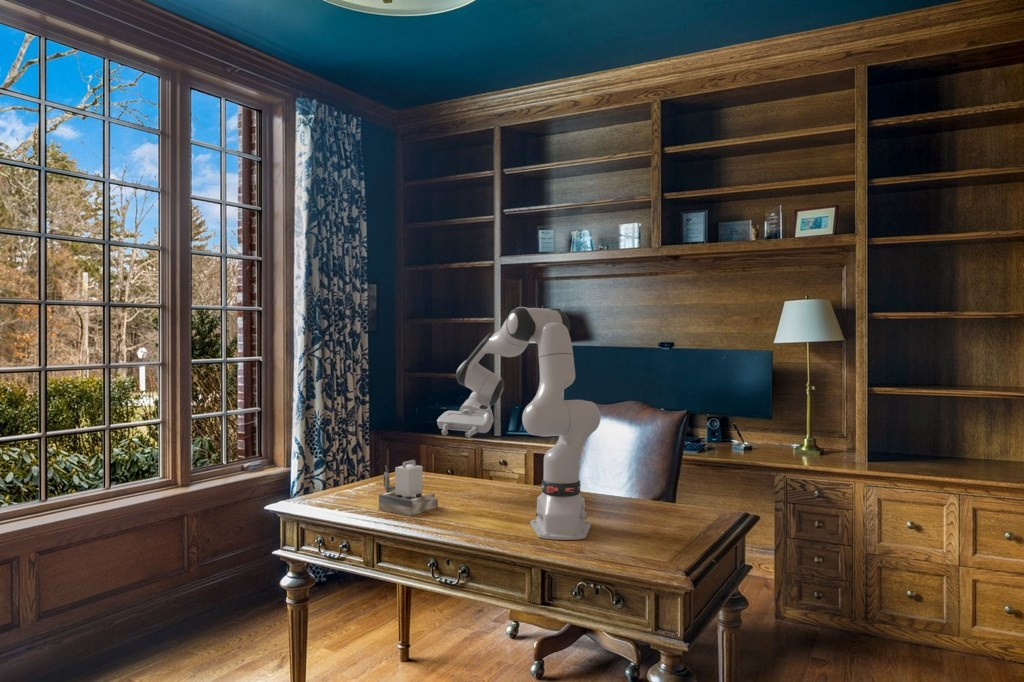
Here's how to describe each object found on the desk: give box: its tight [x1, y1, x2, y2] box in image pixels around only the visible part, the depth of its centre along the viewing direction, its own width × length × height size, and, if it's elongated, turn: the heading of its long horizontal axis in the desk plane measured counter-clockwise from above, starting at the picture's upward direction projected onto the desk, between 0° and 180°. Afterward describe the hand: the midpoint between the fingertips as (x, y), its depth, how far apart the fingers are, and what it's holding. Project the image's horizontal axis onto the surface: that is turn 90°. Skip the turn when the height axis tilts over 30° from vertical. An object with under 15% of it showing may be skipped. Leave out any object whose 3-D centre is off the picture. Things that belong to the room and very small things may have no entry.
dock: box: [378, 491, 439, 517], centre depth 231 cm, size 14×14×5 cm
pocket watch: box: [383, 465, 395, 493], centre depth 256 cm, size 8×8×10 cm
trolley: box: [394, 459, 424, 500], centre depth 231 cm, size 7×6×13 cm
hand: (455, 434), depth 241 cm, fingers open, 8 cm apart
